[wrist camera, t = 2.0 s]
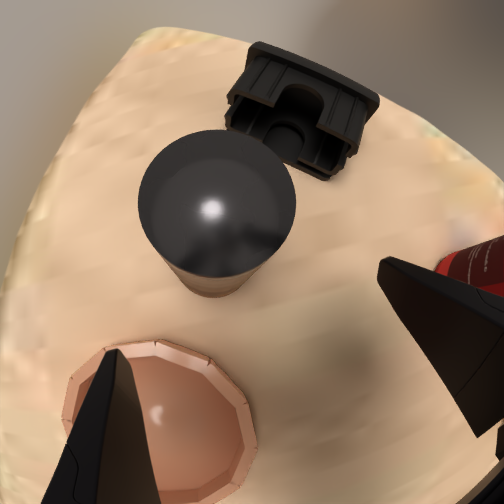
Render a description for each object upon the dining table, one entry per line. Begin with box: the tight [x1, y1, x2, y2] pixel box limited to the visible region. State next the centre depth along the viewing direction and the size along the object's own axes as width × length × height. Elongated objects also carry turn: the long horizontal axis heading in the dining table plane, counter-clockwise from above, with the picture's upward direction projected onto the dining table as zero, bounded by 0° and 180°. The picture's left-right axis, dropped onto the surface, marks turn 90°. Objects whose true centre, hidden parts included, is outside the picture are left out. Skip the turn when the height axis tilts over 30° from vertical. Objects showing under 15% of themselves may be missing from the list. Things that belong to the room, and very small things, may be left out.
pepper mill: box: [138, 130, 296, 298], centre depth 15 cm, size 5×5×11 cm
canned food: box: [435, 235, 504, 297], centre depth 17 cm, size 8×8×11 cm
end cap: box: [224, 41, 380, 181], centre depth 20 cm, size 10×7×7 cm
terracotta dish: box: [62, 339, 258, 504], centre depth 16 cm, size 13×13×2 cm
